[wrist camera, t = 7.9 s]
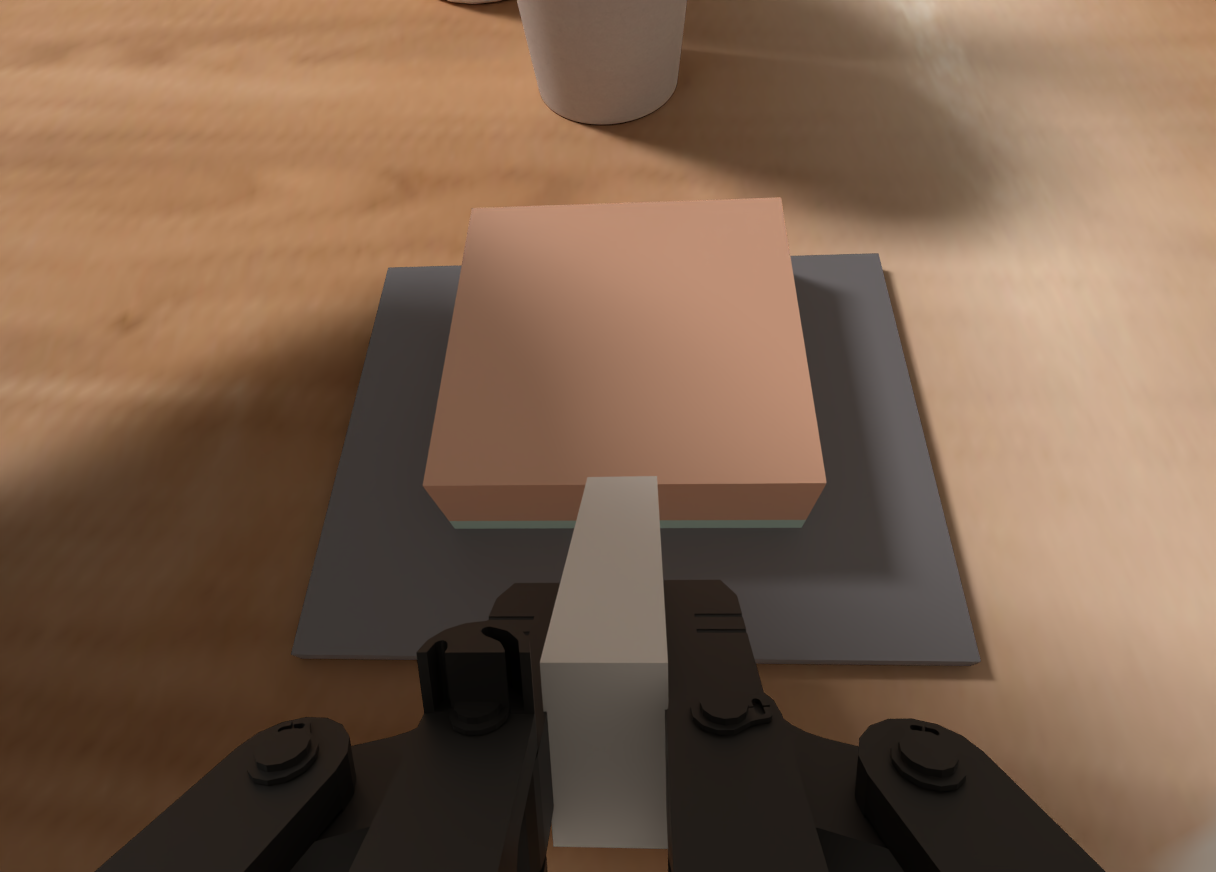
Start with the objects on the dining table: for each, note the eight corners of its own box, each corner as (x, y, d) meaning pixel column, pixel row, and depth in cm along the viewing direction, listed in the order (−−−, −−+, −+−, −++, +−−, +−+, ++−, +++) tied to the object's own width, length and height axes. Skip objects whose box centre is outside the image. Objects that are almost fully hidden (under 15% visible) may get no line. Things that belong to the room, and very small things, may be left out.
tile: (422, 485, 16) (471, 208, 21) (454, 528, 19) (491, 273, 24) (826, 483, 15) (781, 197, 20) (801, 527, 18) (766, 265, 23)
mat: (301, 658, 18) (290, 654, 17) (394, 278, 25) (388, 267, 24) (970, 665, 17) (981, 661, 16) (873, 265, 23) (878, 253, 23)
